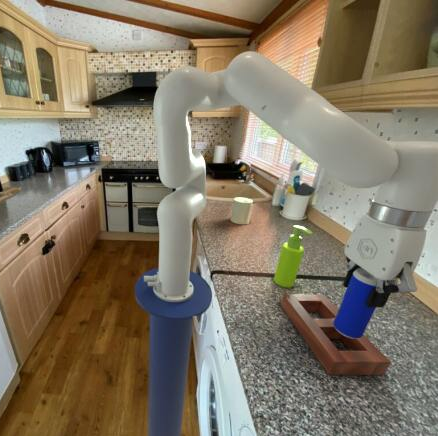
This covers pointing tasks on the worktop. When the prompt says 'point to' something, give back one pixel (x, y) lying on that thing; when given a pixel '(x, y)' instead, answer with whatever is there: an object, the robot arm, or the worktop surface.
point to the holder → (332, 337)
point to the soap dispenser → (290, 258)
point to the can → (241, 210)
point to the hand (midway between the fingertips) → (361, 295)
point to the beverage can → (356, 305)
